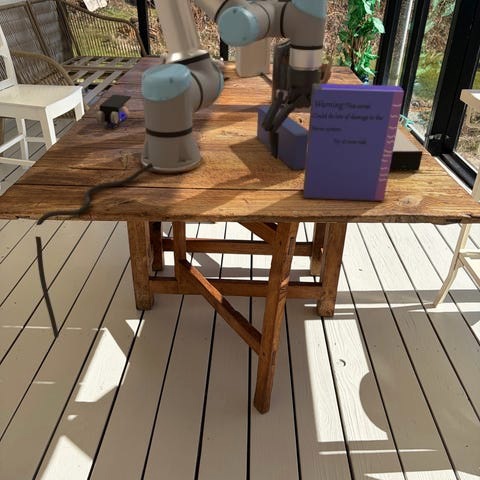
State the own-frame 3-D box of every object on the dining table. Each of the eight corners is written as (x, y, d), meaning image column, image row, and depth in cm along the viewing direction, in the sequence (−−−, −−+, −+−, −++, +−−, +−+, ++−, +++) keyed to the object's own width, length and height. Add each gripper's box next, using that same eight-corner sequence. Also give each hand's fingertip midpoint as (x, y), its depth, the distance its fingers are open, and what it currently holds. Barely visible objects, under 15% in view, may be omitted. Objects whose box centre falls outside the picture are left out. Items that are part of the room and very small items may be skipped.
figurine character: (119, 135, 145) (134, 115, 156) (115, 111, 140) (131, 93, 152) (98, 134, 145) (114, 114, 157) (93, 110, 141) (110, 92, 152)
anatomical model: (319, 90, 206) (319, 91, 192) (304, 75, 205) (303, 75, 191) (340, 67, 202) (342, 66, 188) (325, 52, 201) (326, 50, 187)
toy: (179, 75, 210) (178, 59, 206) (155, 65, 227) (154, 49, 224) (226, 69, 222) (226, 53, 218) (199, 60, 239) (199, 45, 235)
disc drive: (349, 170, 120) (352, 151, 117) (332, 140, 139) (334, 123, 137) (418, 171, 120) (423, 152, 118) (392, 140, 140) (395, 124, 137)
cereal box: (379, 191, 109) (398, 84, 97) (383, 201, 105) (404, 90, 93) (303, 188, 110) (312, 82, 98) (304, 197, 106) (314, 88, 94)
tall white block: (273, 76, 210) (276, 6, 196) (239, 77, 209) (240, 6, 194) (266, 67, 226) (268, 2, 212) (235, 67, 225) (235, 1, 210)
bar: (310, 168, 122) (313, 134, 117) (293, 170, 120) (296, 136, 116) (271, 135, 143) (272, 105, 138) (256, 136, 142) (257, 106, 137)
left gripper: (344, 61, 117) (334, 143, 128) (249, 67, 110) (247, 154, 121) (360, 67, 111) (349, 153, 122) (260, 73, 104) (258, 164, 115)
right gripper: (301, -38, 137) (297, 23, 145) (255, -39, 133) (253, 25, 141) (313, -38, 131) (308, 27, 139) (265, -38, 127) (263, 28, 135)
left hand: (298, 154), depth 122 cm, fingers open, 13 cm apart
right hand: (280, 26), depth 140 cm, fingers open, 8 cm apart
